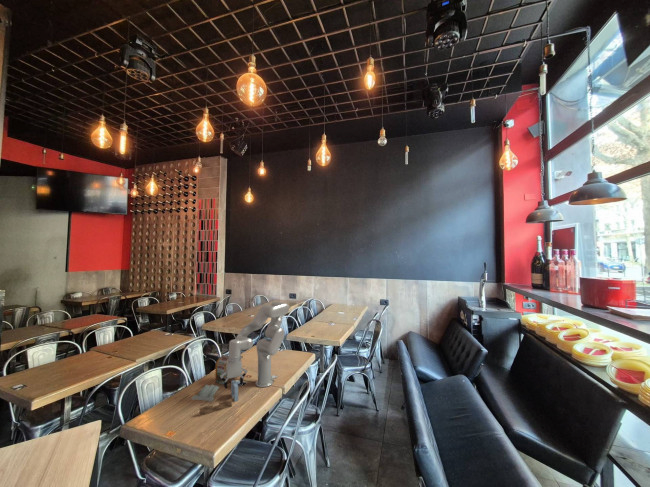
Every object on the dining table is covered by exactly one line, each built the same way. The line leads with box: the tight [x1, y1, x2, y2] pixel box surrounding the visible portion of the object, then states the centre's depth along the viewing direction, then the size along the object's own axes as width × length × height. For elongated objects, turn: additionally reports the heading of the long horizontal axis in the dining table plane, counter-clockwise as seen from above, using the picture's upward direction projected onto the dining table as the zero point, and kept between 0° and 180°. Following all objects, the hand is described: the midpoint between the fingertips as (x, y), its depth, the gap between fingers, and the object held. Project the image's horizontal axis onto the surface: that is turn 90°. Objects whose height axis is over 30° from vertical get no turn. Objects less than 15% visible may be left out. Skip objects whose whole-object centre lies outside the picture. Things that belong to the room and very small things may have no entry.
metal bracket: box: [190, 383, 220, 402], centre depth 175 cm, size 14×6×15 cm
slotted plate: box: [230, 380, 239, 402], centre depth 172 cm, size 10×2×9 cm, turn 32°
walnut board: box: [198, 398, 233, 417], centre depth 157 cm, size 18×1×4 cm, turn 122°
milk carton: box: [214, 354, 238, 386], centre depth 195 cm, size 11×11×19 cm
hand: (233, 385), depth 171 cm, fingers open, 9 cm apart
